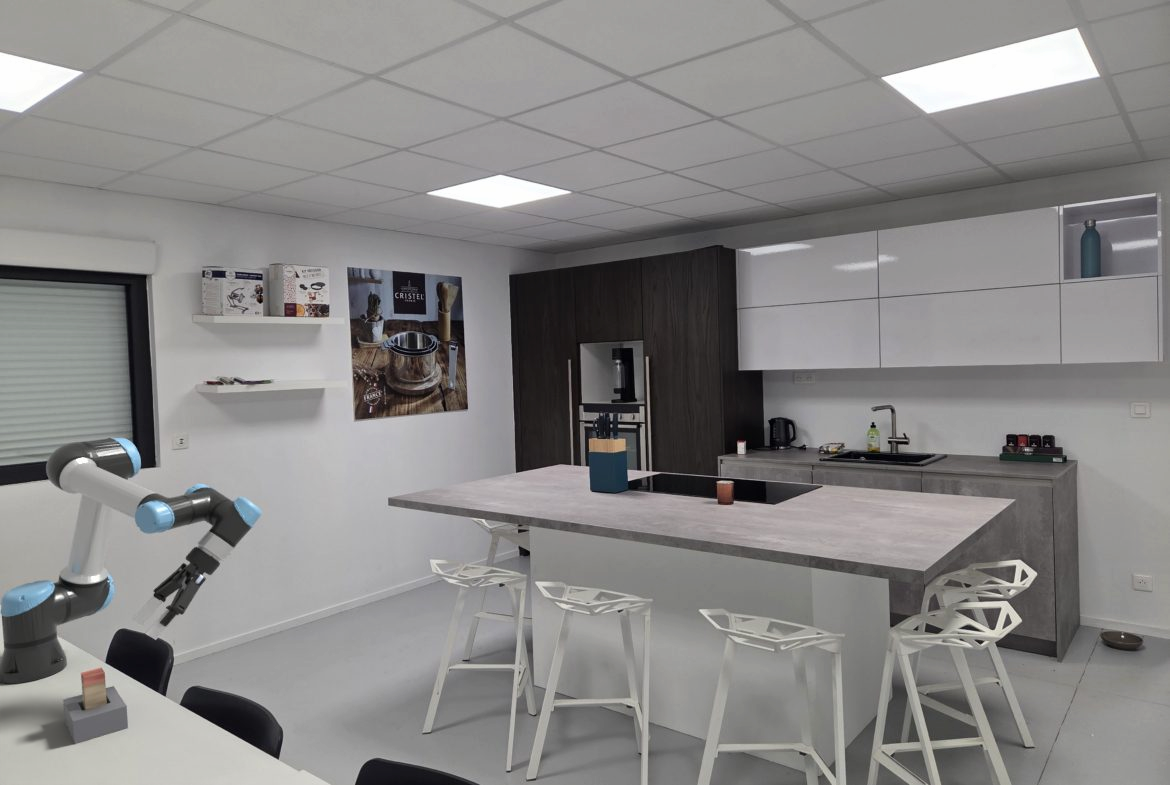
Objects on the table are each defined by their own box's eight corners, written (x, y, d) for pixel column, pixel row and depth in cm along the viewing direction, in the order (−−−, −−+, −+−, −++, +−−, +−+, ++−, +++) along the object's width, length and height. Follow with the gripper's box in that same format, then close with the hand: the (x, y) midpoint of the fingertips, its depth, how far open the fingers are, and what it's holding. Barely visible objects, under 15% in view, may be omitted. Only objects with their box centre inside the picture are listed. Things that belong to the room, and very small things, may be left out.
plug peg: (84, 724, 172) (80, 672, 171) (104, 718, 175) (101, 667, 174) (87, 730, 169) (83, 677, 168) (108, 724, 172) (104, 672, 171)
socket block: (64, 720, 174) (63, 699, 174) (114, 706, 181) (113, 685, 180) (74, 744, 163) (73, 721, 163) (128, 727, 169) (126, 706, 169)
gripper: (236, 571, 180) (170, 651, 171) (206, 553, 199) (145, 624, 189) (211, 554, 176) (142, 634, 167) (183, 537, 195) (119, 608, 186)
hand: (143, 629), depth 178 cm, fingers open, 13 cm apart
